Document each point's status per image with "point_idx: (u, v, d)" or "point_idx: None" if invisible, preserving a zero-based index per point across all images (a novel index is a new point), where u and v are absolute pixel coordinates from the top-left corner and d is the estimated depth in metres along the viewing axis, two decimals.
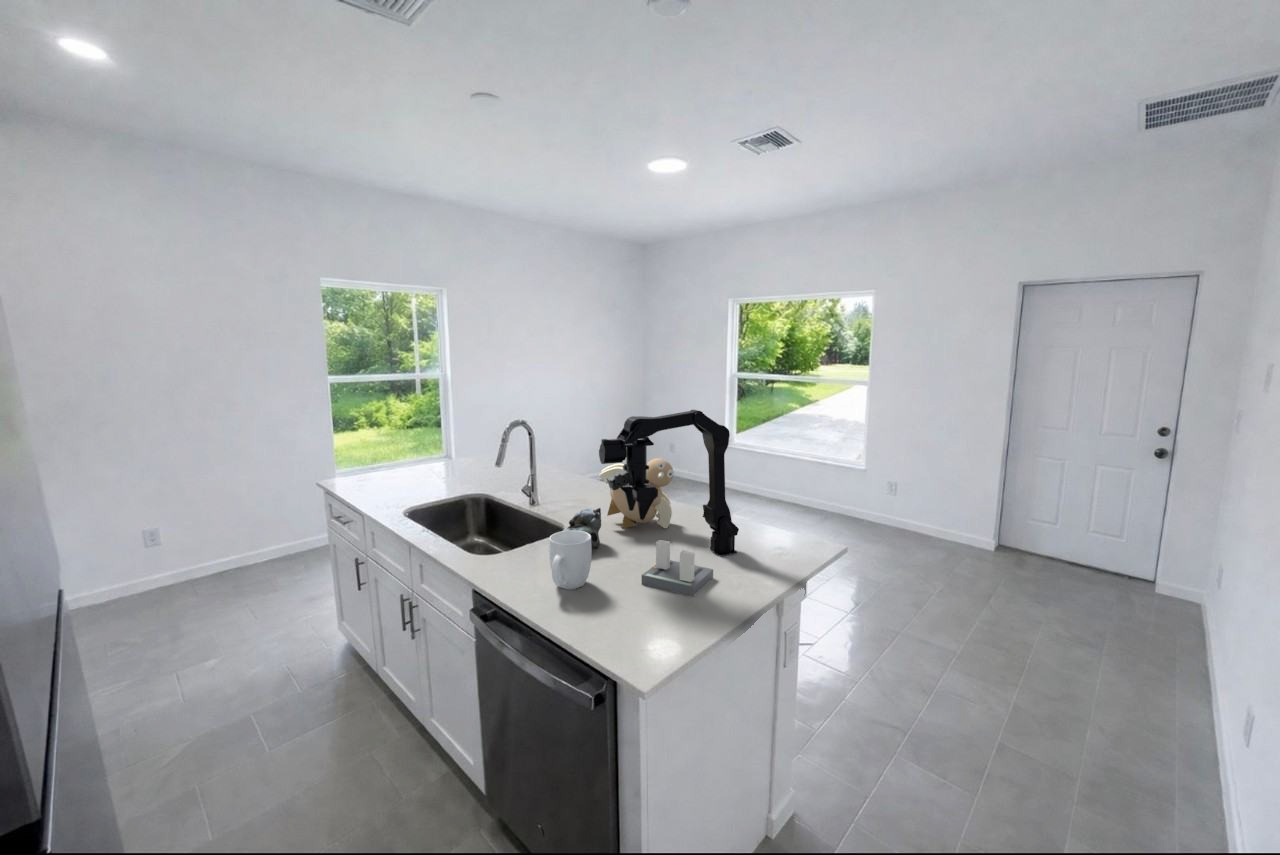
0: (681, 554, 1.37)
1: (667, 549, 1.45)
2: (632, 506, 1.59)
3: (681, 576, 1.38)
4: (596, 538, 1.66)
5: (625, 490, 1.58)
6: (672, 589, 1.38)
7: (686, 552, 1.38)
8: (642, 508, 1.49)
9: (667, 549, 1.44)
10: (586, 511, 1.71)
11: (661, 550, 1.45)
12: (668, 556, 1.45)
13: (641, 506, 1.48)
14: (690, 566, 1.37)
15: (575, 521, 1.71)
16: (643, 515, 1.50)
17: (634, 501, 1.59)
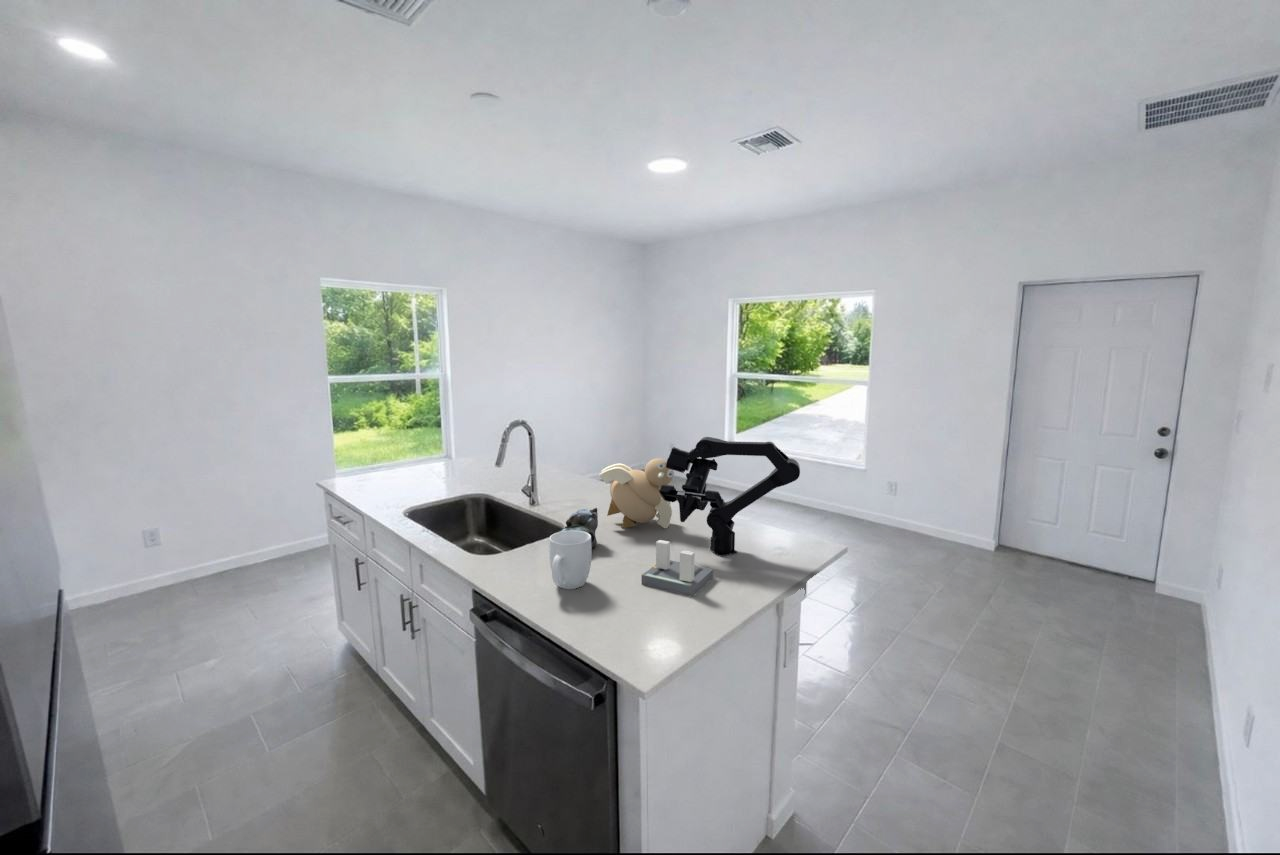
0: (681, 554, 1.37)
1: (667, 549, 1.45)
2: None
3: (681, 576, 1.38)
4: (593, 538, 1.67)
5: None
6: (672, 589, 1.38)
7: (686, 552, 1.38)
8: None
9: (667, 549, 1.44)
10: (583, 511, 1.71)
11: (661, 550, 1.45)
12: (668, 556, 1.45)
13: None
14: (690, 566, 1.37)
15: (572, 521, 1.71)
16: None
17: None
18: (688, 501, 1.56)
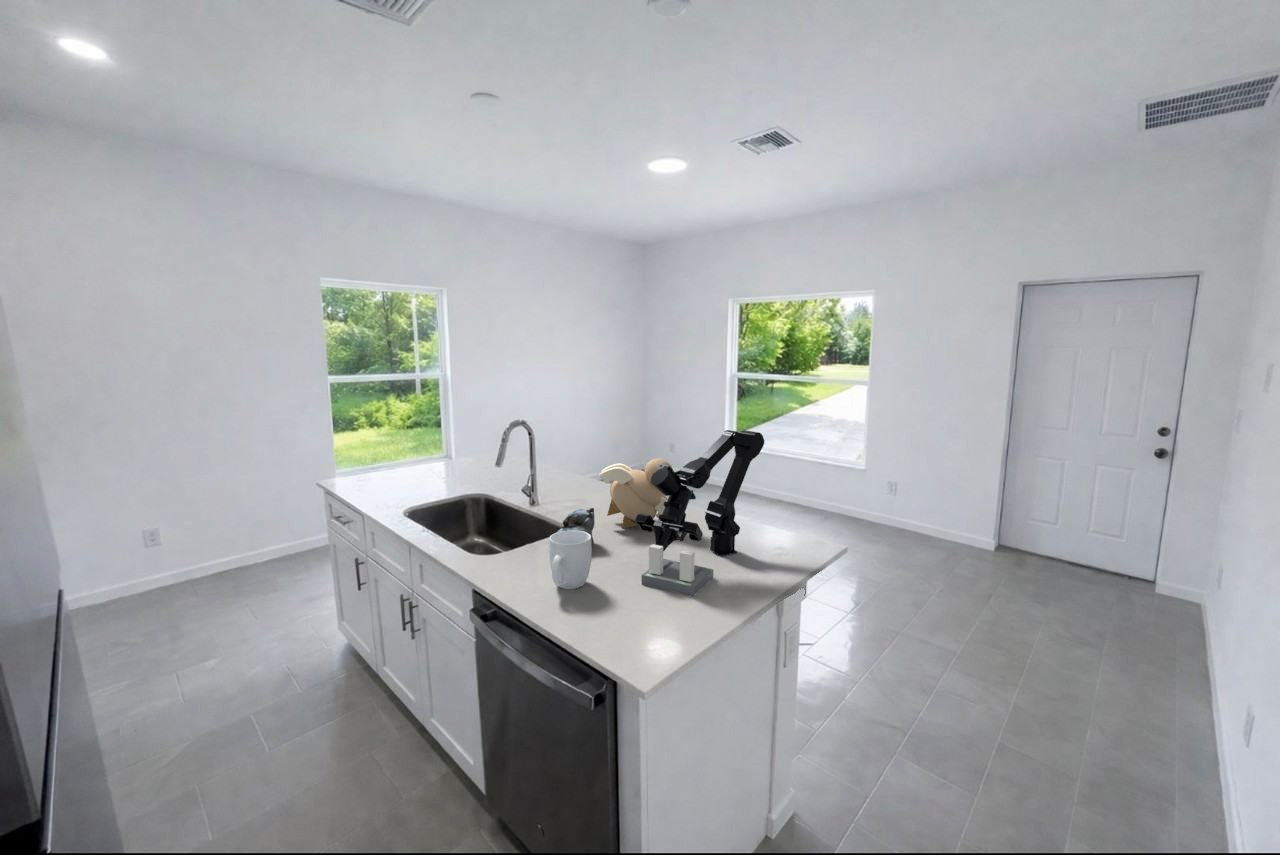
0: (681, 554, 1.37)
1: (661, 553, 1.41)
2: None
3: (681, 576, 1.38)
4: None
5: None
6: (672, 589, 1.38)
7: (686, 552, 1.38)
8: None
9: (660, 553, 1.41)
10: (579, 511, 1.71)
11: (654, 555, 1.42)
12: (661, 561, 1.42)
13: None
14: (690, 566, 1.37)
15: (568, 521, 1.71)
16: None
17: None
18: (665, 533, 1.44)
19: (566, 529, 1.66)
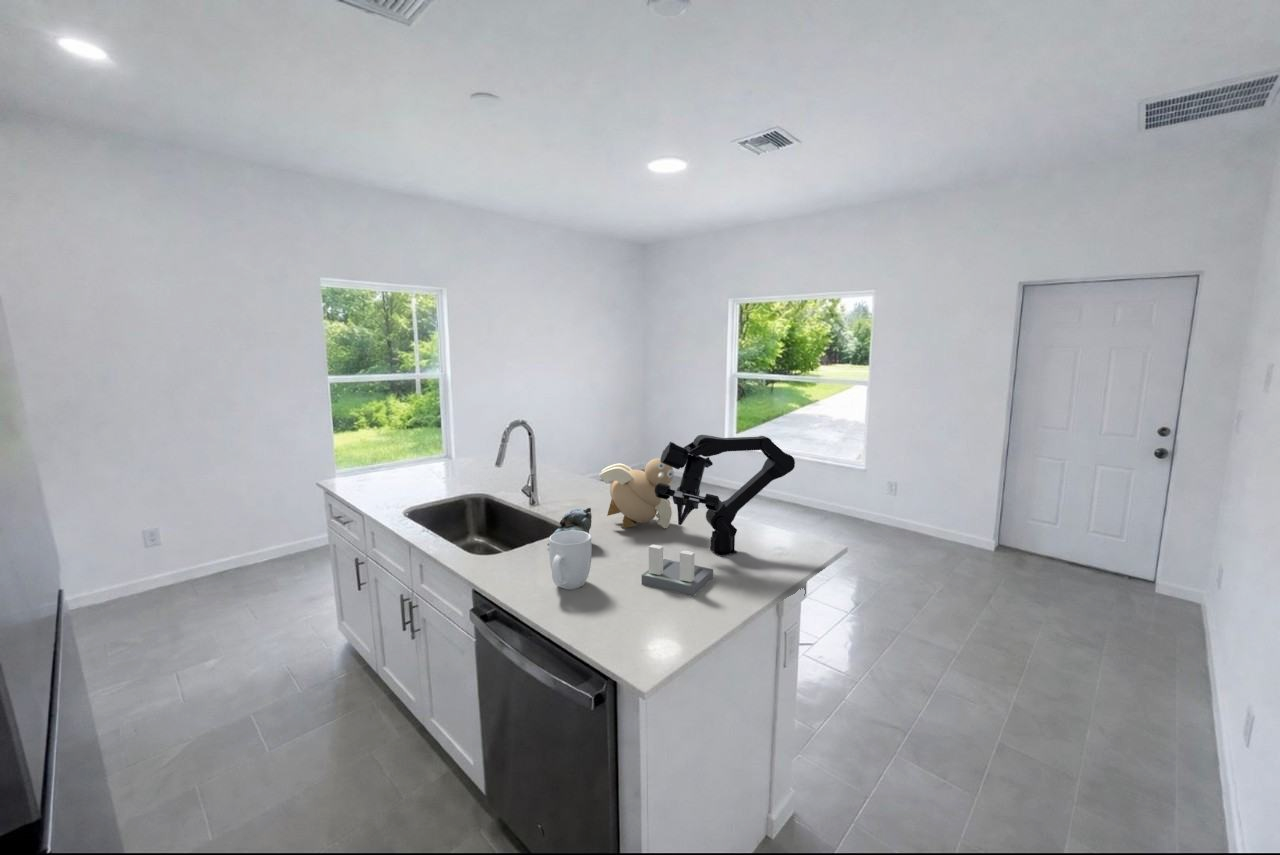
0: (681, 554, 1.37)
1: (660, 553, 1.41)
2: None
3: (681, 576, 1.38)
4: None
5: None
6: (672, 589, 1.38)
7: (686, 552, 1.38)
8: None
9: (660, 553, 1.41)
10: (576, 511, 1.71)
11: (653, 555, 1.42)
12: (661, 561, 1.42)
13: None
14: (690, 566, 1.37)
15: (565, 521, 1.71)
16: (678, 519, 1.54)
17: None
18: (687, 504, 1.53)
19: (563, 529, 1.66)
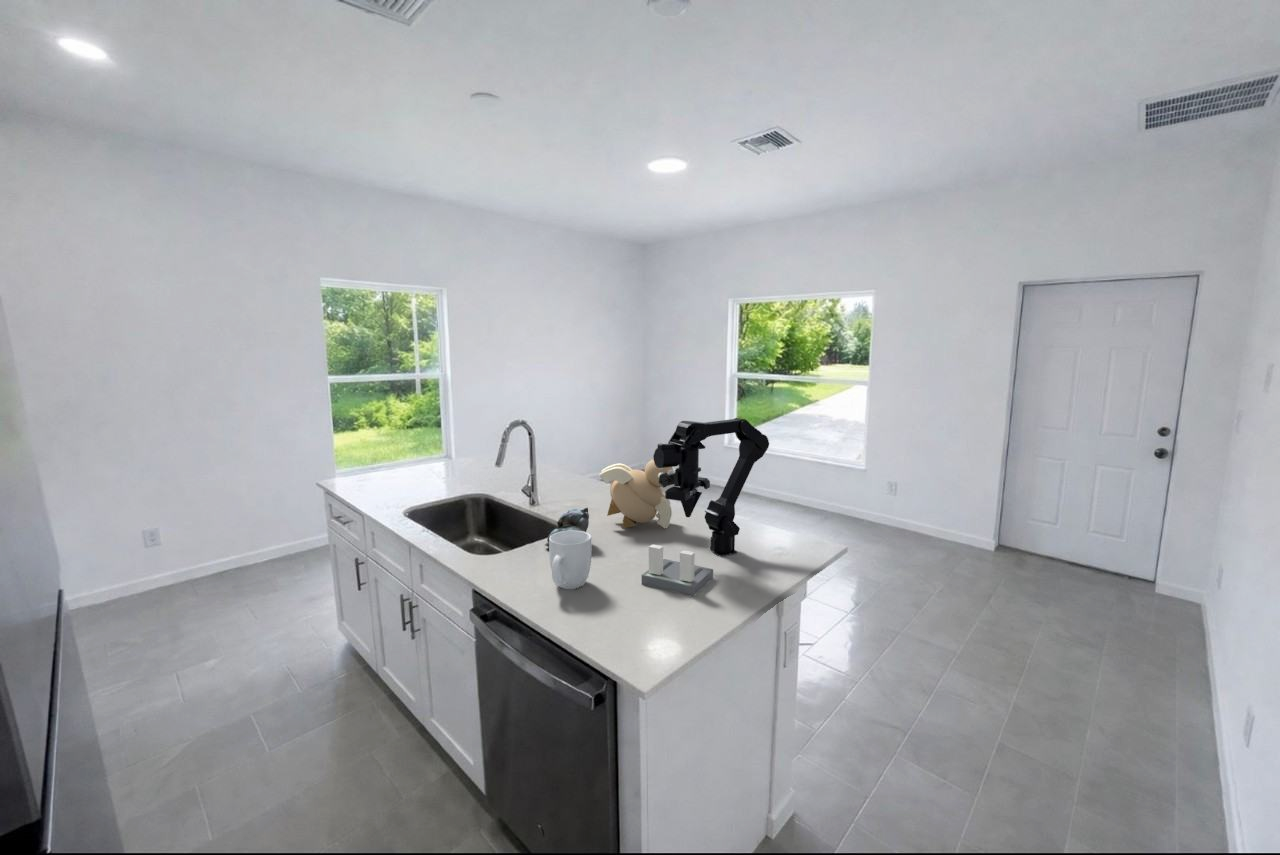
0: (681, 554, 1.37)
1: (660, 553, 1.41)
2: None
3: (681, 576, 1.38)
4: None
5: None
6: (672, 589, 1.38)
7: (686, 552, 1.38)
8: (685, 506, 1.57)
9: (660, 553, 1.41)
10: (574, 511, 1.71)
11: (653, 555, 1.42)
12: (661, 561, 1.42)
13: (683, 504, 1.57)
14: (690, 566, 1.37)
15: (563, 521, 1.71)
16: (687, 513, 1.57)
17: None
18: (697, 499, 1.57)
19: (561, 529, 1.65)
